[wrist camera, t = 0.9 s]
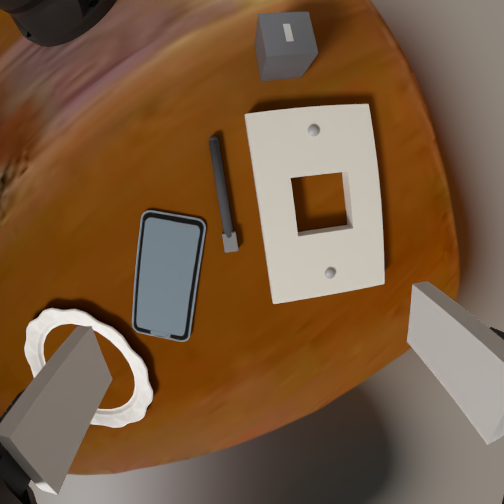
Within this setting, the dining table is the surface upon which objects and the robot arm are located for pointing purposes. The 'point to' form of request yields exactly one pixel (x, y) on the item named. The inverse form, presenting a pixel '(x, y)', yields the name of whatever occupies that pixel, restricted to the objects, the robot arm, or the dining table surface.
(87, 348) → the robot arm
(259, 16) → the block
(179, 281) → the smartphone
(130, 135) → the dining table surface
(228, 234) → the cable
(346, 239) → the outlet plate
